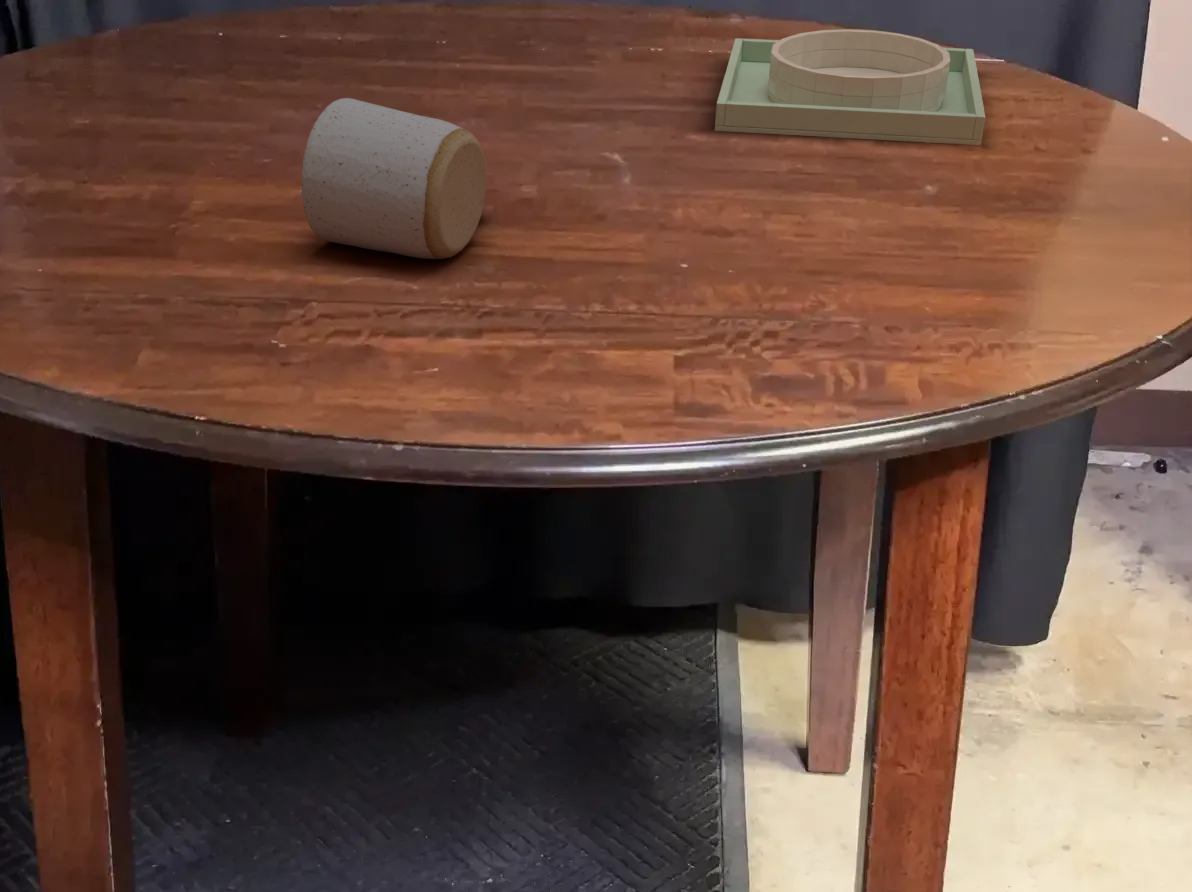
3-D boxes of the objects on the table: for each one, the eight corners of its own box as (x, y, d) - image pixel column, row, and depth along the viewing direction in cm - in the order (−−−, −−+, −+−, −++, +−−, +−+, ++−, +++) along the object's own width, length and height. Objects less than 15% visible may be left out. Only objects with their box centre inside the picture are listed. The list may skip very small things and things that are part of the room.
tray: (968, 77, 111) (973, 48, 109) (980, 148, 98) (985, 116, 97) (733, 65, 113) (735, 37, 112) (714, 133, 100) (716, 102, 99)
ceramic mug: (437, 283, 80) (433, 137, 76) (303, 260, 83) (291, 117, 78) (518, 220, 88) (518, 84, 84) (393, 200, 91) (387, 68, 86)
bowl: (940, 76, 109) (946, 33, 107) (946, 128, 100) (953, 81, 98) (772, 68, 111) (776, 25, 109) (762, 118, 101) (766, 72, 100)
